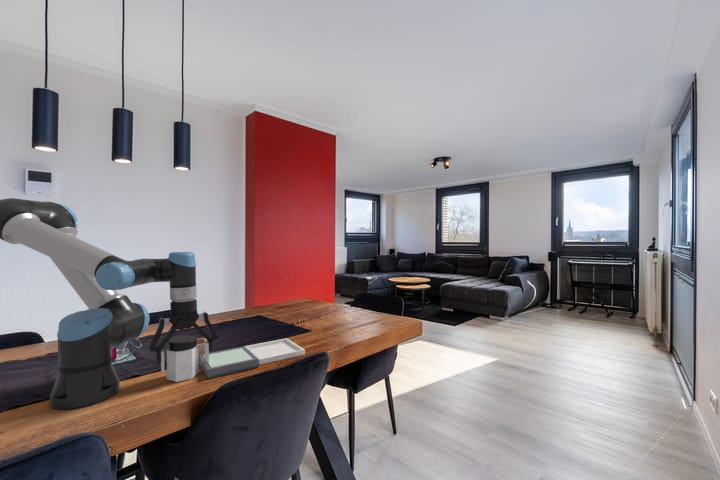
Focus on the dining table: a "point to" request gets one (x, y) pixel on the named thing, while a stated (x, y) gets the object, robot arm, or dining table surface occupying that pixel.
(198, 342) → the cup
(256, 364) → the block
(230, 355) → the plate
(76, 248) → the robot arm
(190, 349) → the jar
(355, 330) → the dining table surface
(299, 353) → the tray
